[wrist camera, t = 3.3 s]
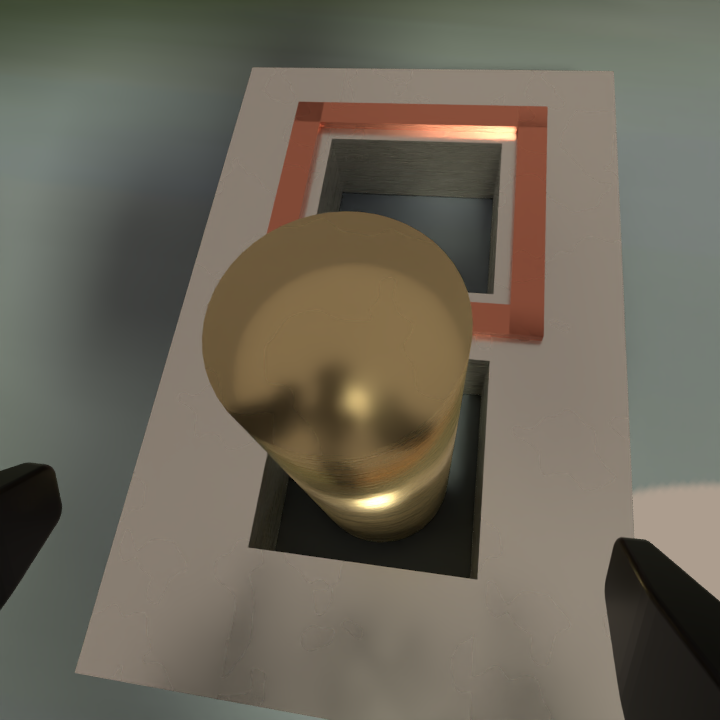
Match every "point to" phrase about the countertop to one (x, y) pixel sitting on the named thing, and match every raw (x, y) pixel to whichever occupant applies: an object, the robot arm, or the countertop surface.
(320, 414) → the brass peg
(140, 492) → the socket plate
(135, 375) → the countertop surface
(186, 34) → the countertop surface
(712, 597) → the robot arm
